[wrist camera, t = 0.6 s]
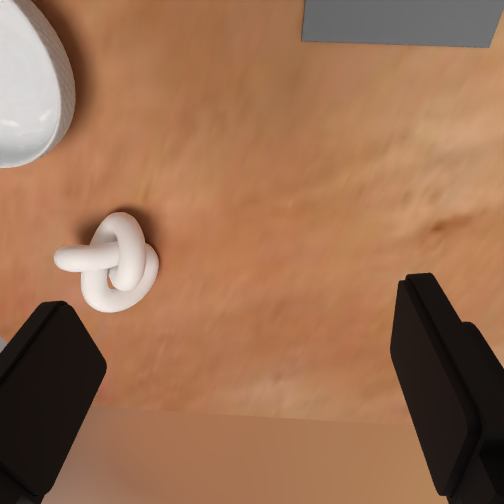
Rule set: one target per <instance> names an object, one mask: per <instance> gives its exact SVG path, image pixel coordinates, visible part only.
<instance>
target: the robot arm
mask: <svg viewBox="0 0 504 504" xmlns="http://www.w3.org/2000/svg"><path fill="white" fill-rule="evenodd" d="M390 353H391V358H392V362H393V365H394V368H395V371H396V374H397V376H398V379H399V382H400V385H401V388H402V391H403V394H404V397H405V400H406V403H407V406H408V409H409V412H410V415H411V418H412V421H413V424H414V427H415V430H416V433H417V436H418V438H419V441H420V445H421V447H422V450H423V453H424V456H425V459H426V462H427V465H428V468H429V471H430V474H431V477H432V480H433V483H434V486H435V488H436V490H437V493H438V494H439V495H440V496H446V497H447V500H448V502H449V504H504V368H503V367H502V365H501V364H500V362H499V361H498V359H497V357H496V356H495V354H494V353H493V351H492V350H491V348H490V347H489V345H488V343H487V342H486V340H485V339H484V337H483V336H482V334H481V333H480V331H479V330H478V328H477V327H476V326H475V325H474V324H473V323H471V322H461V320H460V318H459V317H458V315H457V313H456V312H455V310H454V308H453V307H452V305H451V303H450V302H449V300H448V298H447V297H446V295H445V293H444V292H443V290H442V288H441V287H440V285H439V283H438V282H437V280H436V278H435V277H434V275H433V274H432V273H420V274H408V275H407V276H406V278H405V280H401V281H399V283H398V290H397V298H396V305H395V313H394V321H393V329H392V336H391V344H390ZM106 369H107V364H106V361H105V359H104V357H103V356H102V354H101V353H100V351H99V349H98V348H97V346H96V344H95V343H94V341H93V339H92V338H91V336H90V335H89V333H88V331H87V330H86V328H85V326H84V325H83V323H82V321H81V320H80V318H79V317H78V315H77V313H76V312H75V310H74V308H73V307H72V306H70V305H68V304H67V302H65V301H51V302H43V303H41V304H40V305H39V306H38V307H37V308H36V309H35V311H34V312H33V313H32V314H31V316H30V317H29V318H28V319H27V321H26V322H25V323H24V324H23V326H22V327H21V328H20V329H19V331H18V332H17V333H16V334H15V336H14V337H13V338H12V339H11V341H10V342H9V343H8V344H7V346H6V347H5V348H4V350H3V351H2V352H1V353H0V504H41V502H42V500H43V498H44V495H45V494H47V493H48V492H49V491H50V490H51V488H52V486H53V485H54V483H55V480H56V478H57V476H58V474H59V472H60V470H61V468H62V466H63V463H64V461H65V459H66V457H67V455H68V453H69V450H70V448H71V446H72V444H73V442H74V440H75V438H76V435H77V433H78V431H79V429H80V427H81V425H82V423H83V420H84V418H85V416H86V414H87V412H88V410H89V408H90V406H91V403H92V401H93V399H94V397H95V395H96V393H97V391H98V388H99V386H100V384H101V382H102V380H103V378H104V376H105V373H106Z"/></svg>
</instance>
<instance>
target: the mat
mask: <svg viewBox="0 0 504 504" xmlns="http://www.w3.org/2000/svg"><path fill="white" fill-rule="evenodd" d="M503 9H504V0H305V8H304V18H303V29H302V39H301V41H313V42H341V43H368V44H396V45H424V46H451V47H479V48H489V47H490V44H491V41H492V39H493V36H494V33H495V30H496V28H497V25H498V22H499V19H500V17H501V14H502V11H503Z"/></svg>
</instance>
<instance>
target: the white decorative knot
mask: <svg viewBox="0 0 504 504" xmlns="http://www.w3.org/2000/svg"><path fill="white" fill-rule="evenodd" d="M54 261H55V264H56V265H57V266H58V267H59V268H60V269H63V270H66V271H71V272H82V273H81V290H82V294H83V297H84V298H85V300H86V302H87V303H88V304H89V305H90V306H91V307H93V308H94V309H96V310H98V311H101V312H118V311H122V310H125V309H127V308H129V307H131V306H133V305H134V304H136V303H137V302H138V301H140V300H141V299H142V298H143V297H144V296H145V295H146V294H147V293H148V291H149V290H150V289H151V287H152V286H153V284H154V282H155V280H156V277H157V274H158V269H159V260H158V256H157V254H156V252H155V251H154V249H153V248H152V247H151V246H150V245H149V244H147V243H145V239H144V235H143V232H142V230H141V227H140V225H139V224H138V222H137V220H136V219H135V218H134V217H133V216H131V215H129V214H127V213H125V212H115V213H112V214H110V215H108V216H107V217H106V218H105V219H104V220H103V221H102V222H101V224H100V225H99V227H98V228H97V230H96V232H95V234H94V236H93V238H92V240H91V243H90V245H64V246H62V247H60V248H59V249H57V250H56V252H55V255H54ZM107 274H109V277H110V279H111V282H112V285H113V286H114V287H116V289H110V288H109V287H108V284H107Z"/></svg>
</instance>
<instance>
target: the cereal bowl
mask: <svg viewBox="0 0 504 504" xmlns="http://www.w3.org/2000/svg"><path fill="white" fill-rule="evenodd" d="M75 95H76V93H75V81H74V77H73V72H72V69H71V65H70V63H69V58H68V57H67V54H66V51H65V50H64V46H63V45H62V43H61V41H60V39H59V38H58V36H57V34H56V32H55V31H54V29H53V28H52V26H51V25H50V23H49V21H48V20H47V19H46V18H45V16H44V15H43V14H42V12H41V11H40V10H39V9H38V8H37V7H36V5H35V4H34V3H33V2H32V1H31V0H0V168H11V167H18V166H22V165H25V164H28V163H31V162H33V161H35V160H37V159H38V158H41V157H42V156H43V155H45V154H47V153H48V152H49V151H51V150H52V149H53V148H54V147H55V146H56V145H58V143H59V142H60V141H61V140H62V139H63V137H64V135H65V134H66V132H67V130H68V128H69V126H70V124H71V121H72V119H73V114H74V111H75V101H76V98H75Z"/></svg>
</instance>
